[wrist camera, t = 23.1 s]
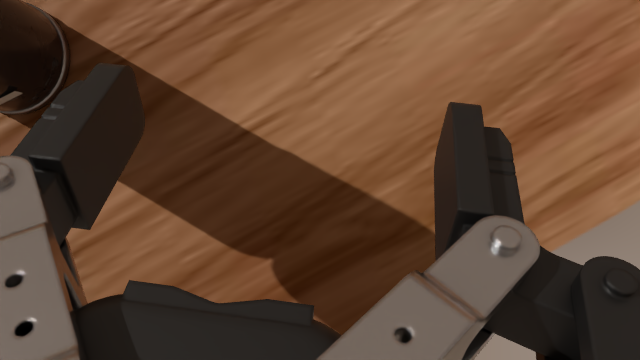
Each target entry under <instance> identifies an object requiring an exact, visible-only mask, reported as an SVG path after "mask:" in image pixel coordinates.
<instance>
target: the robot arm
mask: <svg viewBox="0 0 640 360" xmlns="http://www.w3.org/2000/svg"><path fill="white" fill-rule="evenodd" d="M69 64H70V53H69V46H68V42H67V39H66V37H65V34H64V32H63V30H62V29H61V27H60V26H59V24H58V23H57V22H56V21H55V20H54V19H53V18H52V17H51V16H50V15H49V14H47V13H46V12H45V11H43V10H41V9H39V8H37V7H35V6H33V5H31V4H28V3H25V2H23V1H21V0H0V112H1V113H6V114H25V113H30V112H33V111H36V110H38V109H40V108H42V107H43V106H45V105H46V104H48V103H49V102H50V101H51V100H52V99H53V98H54V97H55V96H56V95H57V94H58V93H59V91H60V90H61V88H62V86H63V84H64V82H65V80H66V78H67V74H68V70H69ZM144 126H145V116H144V111H143V107H142V103H141V99H140V95H139V91H138V87H137V83H136V79H135V75H134V72H133V69H132V68H131V67H130V66H125V65H116V64H107V63H98V64H97V65H96V66H95V67H94V68H93V70H92V71H91V72H90V74H89V75H88V76H87V78H86V79H85V80H84V81H81V80H78V81H76V82H74V83H73V84H71V85H70V86H68V87H67V88H65V89H64V90H62V91H61V92H60V93H59V94H58V96H57V97H56V98H55V99H54V101H53V102H52V103H51V104H50V108H47V110H46V111H45V112H44V113H43V115H42V118H41V119H39V120H38V121H37V122H36V123H35V125H34V126H33V127H32V129H31V130H30V131H29V132H28V134H27V135H26V136H25V137H24V139H23V140H22V141H21V143H20V144H19V145H18V146H17V148H16V149H15V150H14V151H13V153H12V154H11V155H10V156H0V360H474V359H475V357H476V356H477V354H479V353H480V351H481V350H482V349H483V348H484V346H485V345H486V344H487V343H488V342H489V341H490V340H491V339H492V337H493V336H494V335H495V334H497V335H499V336H502V337H504V338H506V339H508V340H511V341H513V342H515V343H517V344H520V345H522V346H524V347H526V348H528V349H531V350H533V351H535V352H536V359H537V360H640V270H639V269H638V268H637V267H635V266H634V265H632V264H630V263H628V262H626V261H624V260H621V259H618V258H614V257H608V256H601V257H595V258H592V259H590V260H589V261H587V262H586V263H585V264H584V265H580V264H577V263H575V262H572V261H570V260H567V259H565V258H562V257H559V256H557V255H555V254H553V253H551V252H549V251H547V250H545V249H544V248H543V247H541V246H540V245H539V242H538V239H537V237H536V236H535V234H534V233H533V232H532V231H531V230H530V229H529V228H528V227H527V226H526V225H525V224H524V219H523V213H522V207H521V201H520V195H519V189H518V183H517V178H516V176H515V173H516V172H515V166H514V163H513V154H512V148H511V143H510V142H509V140H508V139H507V138H506V136H505V135H504V134H503V132H502V131H501V130H500V128H492V127H484V124H483V115H482V108H481V106H480V105H473V104H464V103H455V102H450V103H449V105H448V108H447V111H446V115H445V119H444V123H443V127H442V131H441V135H440V139H439V143H438V146H437V151H436V157H435V165H434V198H435V251H436V261H435V262H434V263H433V264H432V265H431V266H430V267H429V268H428V269H427V270H426V271H424V272H423V273H420V272H419V271H417V270H415V271H413V272H411V273H409V274H408V275H407V276H406V277H404V278H403V279H402V280H401V281H400V282H399V283H398V284H397V285H396V286H395V287H394V288H393V289H391V290H390V291H389V292H388V293H387V294H386V295H385V296H384V297H383V298H382V299H381V300H380V301H379V302H377V303H376V304H375V305H374V306H373V307H372V308H371V309H370V310H369V311H368V312H367V313H366V314H365V315H364V316H362V317H361V318H360V319H359V320H358V321H357V322H356V323H355V324H354V325H353V326H352V327H351V328H350V329H348V330H347V331H346V332H345V333H344V334H343V335H340V334H339V333H338V332H336V331H335V330H333V329H332V328H330V327H328V326H327V325H325V324H323V323H321V322H318V321H316V320H314V319H313V316H314V305H306V304H299V303H292V302H284V301H277V300H270V299H265V300H254V301H243V302H232V303H214V302H211V301H209V300H206V299H204V298H201V297H199V296H197V295H194V294H192V293H189V292H187V291H184V290H182V289H179V288H177V287H174V286H168V285H161V284H153V283H146V282H139V281H131V280H129V282H128V284H127V286H126V289H125V291H124V293H123V294H120V295H114V296H109V297H105V298H102V299H99V300H96V301H93V302H91V303H89V304H88V302H87V300H86V297H85V294H84V291H83V287H82V284H81V281H80V278H79V274H78V271H77V268H76V265H75V261H74V258H73V255H72V252H71V249H70V245H69V243H68V240H67V238H66V236H67V234H68V232H69V231H70V229H71V227H72V228H80V229H87V230H90V229H91V227H92V225H93V223H94V221H95V220H96V218H97V216H98V214H99V212H100V211H101V209H102V207H103V205H104V203H105V202H106V200H107V198H108V196H109V195H110V193H111V191H112V189H113V187H114V186H115V184H116V182H117V180H118V178H119V177H120V175H121V173H122V171H123V169H124V168H125V166H126V164H127V162H128V160H129V159H130V157H131V155H132V153H133V151H134V150H135V148H136V146H137V144H138V143H139V141H140V139H141V137H142V135H143V131H144Z"/></svg>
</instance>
